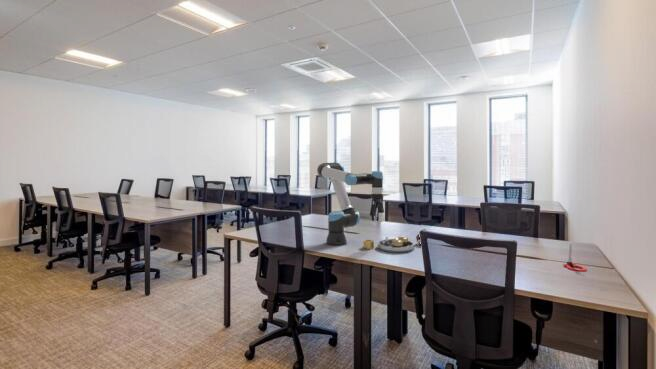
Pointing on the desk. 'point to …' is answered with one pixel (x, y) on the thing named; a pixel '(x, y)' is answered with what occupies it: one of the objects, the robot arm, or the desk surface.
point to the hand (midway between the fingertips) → (376, 223)
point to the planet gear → (368, 244)
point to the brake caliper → (418, 239)
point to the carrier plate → (396, 245)
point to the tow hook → (569, 263)
